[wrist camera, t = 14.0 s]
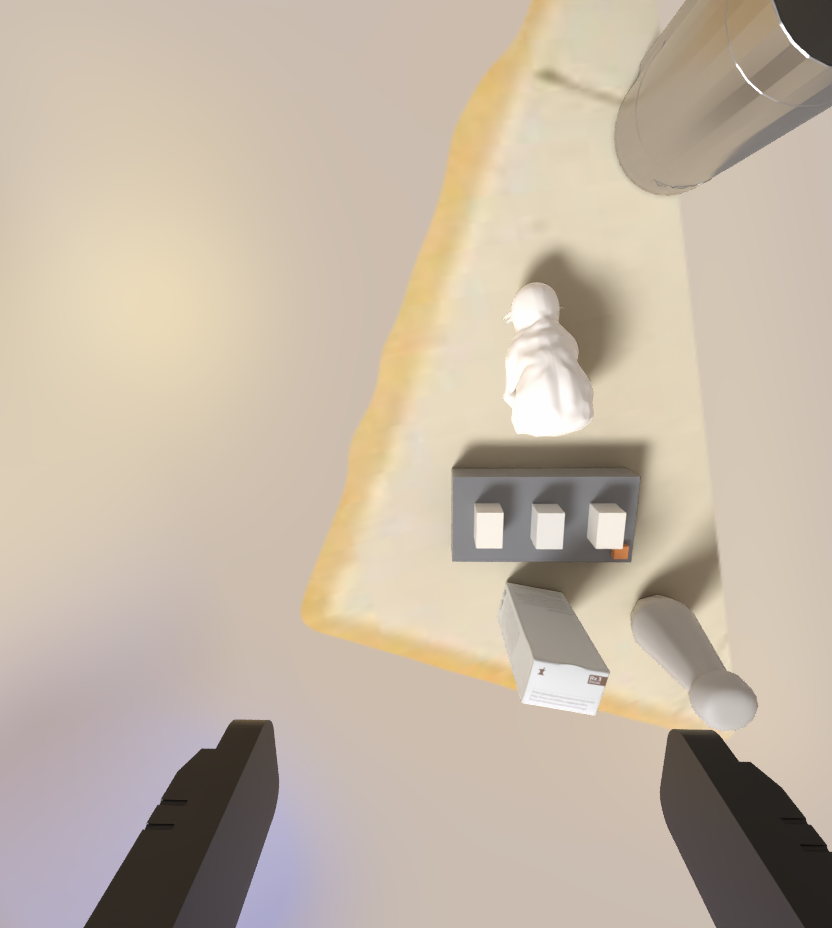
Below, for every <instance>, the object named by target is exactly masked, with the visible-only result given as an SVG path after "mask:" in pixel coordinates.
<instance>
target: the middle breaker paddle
mask: <svg viewBox="0 0 832 928" xmlns="http://www.w3.org/2000/svg"><path fill="white" fill-rule="evenodd" d="M564 521H565V513H564V511H563V510H562V509H561V508H560V506H559V505H558V504H532V514H531V534H530V538H531V540H532V542H533V544H534V546H535V548H536V549H563V535H564Z"/></svg>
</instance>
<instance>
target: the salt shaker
mask: <svg viewBox="0 0 832 928" xmlns="http://www.w3.org/2000/svg"><path fill="white" fill-rule="evenodd" d="M631 629H632V633H633V637H634V639H635V641H636V642H637V643H638V644H639V645H640V647H641V648H642V649H643V650H644V651H645V652H647V653H648V654H649V655H650V656H651V657H652V658H653V659H654V660H655V661H656V662H657V663H658V664H659V665H660V666H661V667H662V668H663V669H664V670H665V671H667V672H668V673H669V674H670V675H671V676H672V677H673V678H674V679H675V680H676V681H677V682H678V683H679V684H680V685H681V686H682V687H683V688H684V689H686V690H687V691H688V692H689V693H688V694H689V698H690V702H691V706H692V708H693V709H694V711H695V713H696V714H697V715H698V716H699V717H700V718H701V719H702V720H703V721H704V722H705V723H706V724H707V725H708V726H709V727H711V728H714V729H717V730H720V731H736V730H738V729H740V728H743V727H745V726H746V725H747V724H749V723H750V722H751V721H752V720H753V718H754V716H755V713H756V711H757V708H758V704H757V698H756V695H755V694H754V692H753V690H752V689H751V688H750V687H749V686H748V685H747V684H746V683H745V682H744V681H743V680H742V679H741V678H740V677H739V676H738V675H736V674H734V673H731V672H729V671H727V670H726V669H725V667H724V665H723V663H722V662H721V660H720V658H719V656H718V655H717V653H716V651H715V650H714V648H713V646H712V644H711V643H710V641H709V639H708V637H707V636H706V634H705V632H704V631H703V629H702V627H701V625H700V624H699V622H698V620H697V618H696V617H695V615H694V614H693V612H692V611H691V610H690V609H689V608H688V607H687V606H686V605H684V604H683V603H681V602H679V601H676V600H674V599H671V598H668V597H664V596H661V595H654V596H650V597H646V598H642V599H639V600H638V602H637V604H636V606H635V607H634V609H633V611H632V613H631Z"/></svg>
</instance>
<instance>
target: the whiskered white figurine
mask: <svg viewBox="0 0 832 928" xmlns="http://www.w3.org/2000/svg"><path fill="white" fill-rule="evenodd" d="M559 308H562V307H559V301H558V297H557V295H556V293H555V291H554V290H553V289H552V288H551V287H550V286H548V285H547V284H544V283H540V282H534V283H529V284H527V285H525V286H523V287H522V288H521V289H520V290H519V291H518V292H517V293H516V294H515V296H514V298H513V301H512V305H511V311H510V312H508V313H507V315H506V316H507V317H506V316H504V317H506V318H508V317H509V316H510V317H509V319H508V321H509V320H510V319H511V320H513V323H514V326H515V333H514V336H513V338H512V340H511V343H510V345H509V348H508V351H507V354H506V357H505V366H506V389H505V393H504V394H503V398H504V400H505V401H506V402H507V403H508V404H509V405H510V406H511V407H512V418H511V421H512V423H513V425H514V428H515V430H516V432H517V434H521V433H525V434H530V435H533V436H536V437H539V436H560V435H563V434H567V433H571V432H574V431H577V430H580V429H582V428H584V427H585V426H586V425H587V424H589V423H590V422H591V421H592V419H593V403H592V402H593V389H592V386H591V383H590V381H589V379H588V377H587V375H586V374H585V372H584V371H583V370H582V368H581V367H580V366H579V364H578V362H577V359H578V354H579V350H578V345H577V342H576V340H575V339H574V337H573V336H572V335H571V334H570V333H569V332H567V331H566V330H565V329H564V327H563V326H561V325H560V323H559V310H560V309H559ZM563 309H564V308H563ZM504 317H503V318H504ZM503 318H502V319H503ZM506 318H505V319H506ZM511 320H510V321H511ZM508 321H507V322H508ZM510 321H509V323H510ZM507 322H506V323H507ZM506 323H505V324H506ZM515 388H516V391H514V390H515Z"/></svg>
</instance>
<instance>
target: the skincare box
mask: <svg viewBox="0 0 832 928" xmlns="http://www.w3.org/2000/svg"><path fill="white" fill-rule="evenodd" d="M497 618H498V622H499V625H500V629H501V632H502V636H503V639H504V643H505V647H506V650H507V654H508V657H509V661H510V664H511V668H512V671H513V675H514V678H515V682H516V685H517V689H518V693H519V696H520V700H521V702H522V703H525V704H531V705H537V706H543V707H549V708H555V709H562V710H566V711H572V712H578V713H584V714H589V715H594V716H595V715H596V713H597V709H598V706H599V703H600V700H601V697H602V694H603V691H604V688H605V685H606V682H607V679H608V676H609V674H610V671H609V669H608V668H607V666H606V664H605V663H604V661H603V659H602V658H601V656H600V654H599V653H598V651H597V649H596V648H595V646H594V644H593V643H592V641H591V639H590V638H589V636H588V634H587V633H586V631H585V629H584V628H583V626H582V624H581V622H580V621H579V619H578V617H577V616H576V614H575V612H574V611H573V609H572V607H571V606H570V604H569V602H568V601H567V599H566V597H565V595H564V594H563V593H562V592H556V591H551V590H546V589H540V588H535V587H530V586H524V585H519V584H514V583H508V582H506V584H505V587H504V591H503V595H502V599H501V602H500V606H499V610H498V614H497Z"/></svg>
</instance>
